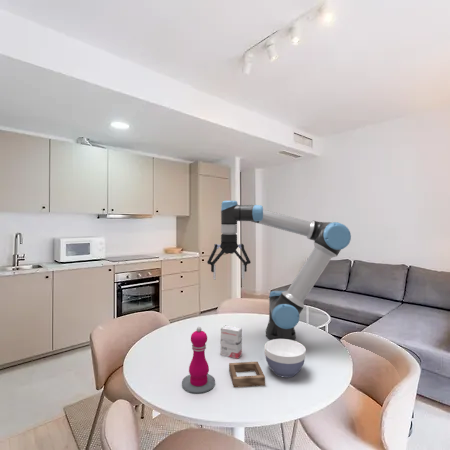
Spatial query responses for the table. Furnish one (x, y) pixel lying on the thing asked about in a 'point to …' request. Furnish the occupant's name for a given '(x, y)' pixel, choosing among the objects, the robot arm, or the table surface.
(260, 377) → the collar
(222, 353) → the ink box
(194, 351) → the pepper mill
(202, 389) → the coaster
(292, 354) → the bowl
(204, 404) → the table surface
